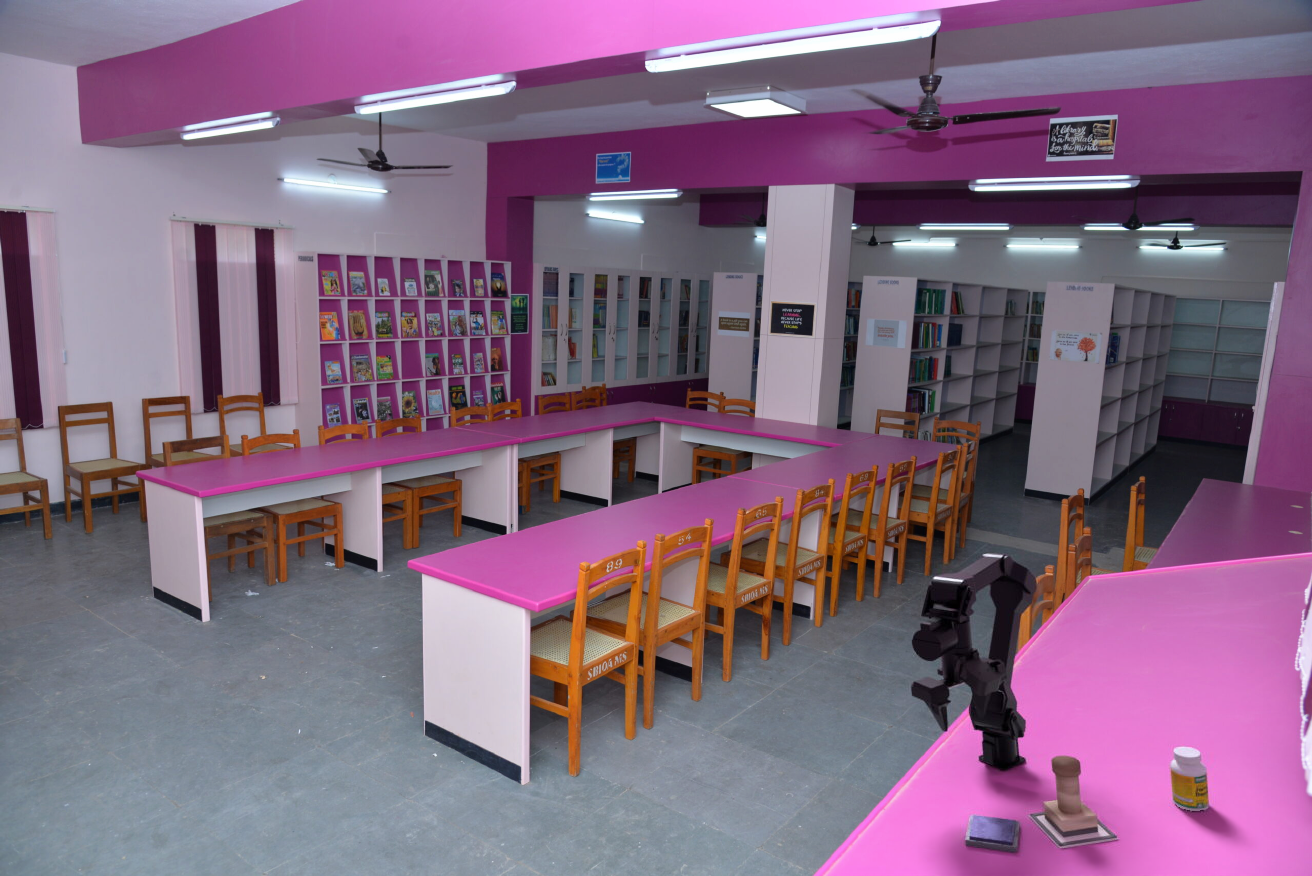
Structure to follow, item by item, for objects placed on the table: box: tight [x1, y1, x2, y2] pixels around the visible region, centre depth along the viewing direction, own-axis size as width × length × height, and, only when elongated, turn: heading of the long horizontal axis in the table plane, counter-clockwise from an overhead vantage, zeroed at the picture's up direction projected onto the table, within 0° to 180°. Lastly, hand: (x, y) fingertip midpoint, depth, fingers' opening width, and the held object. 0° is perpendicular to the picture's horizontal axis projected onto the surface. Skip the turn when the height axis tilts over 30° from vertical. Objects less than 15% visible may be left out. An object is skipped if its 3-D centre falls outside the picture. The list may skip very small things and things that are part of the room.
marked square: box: [1028, 811, 1119, 850], centre depth 142 cm, size 10×10×1 cm
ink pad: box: [964, 814, 1021, 854], centre depth 142 cm, size 8×8×1 cm
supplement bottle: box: [1169, 746, 1210, 812], centre depth 144 cm, size 5×5×10 cm
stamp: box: [1043, 755, 1098, 837], centre depth 142 cm, size 6×6×11 cm
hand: (963, 723), depth 157 cm, fingers open, 9 cm apart
